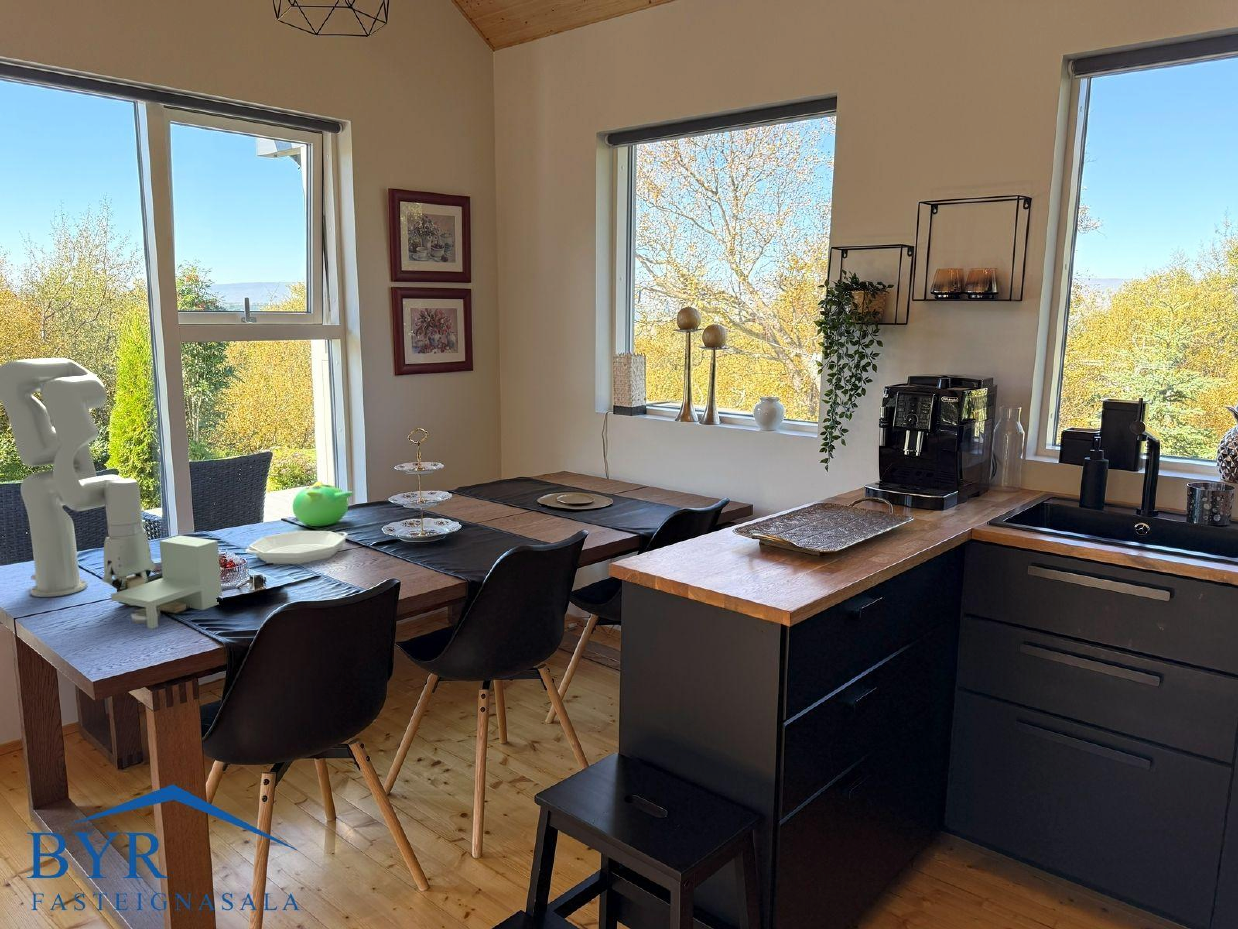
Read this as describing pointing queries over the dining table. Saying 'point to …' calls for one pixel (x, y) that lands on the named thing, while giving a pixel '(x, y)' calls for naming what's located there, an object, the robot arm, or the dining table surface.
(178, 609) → the wooden mallet tool
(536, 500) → the dining table surface
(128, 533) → the robot arm
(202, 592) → the pale green shelf block
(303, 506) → the green teapot
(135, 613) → the steel token
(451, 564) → the dining table surface
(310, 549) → the pan
